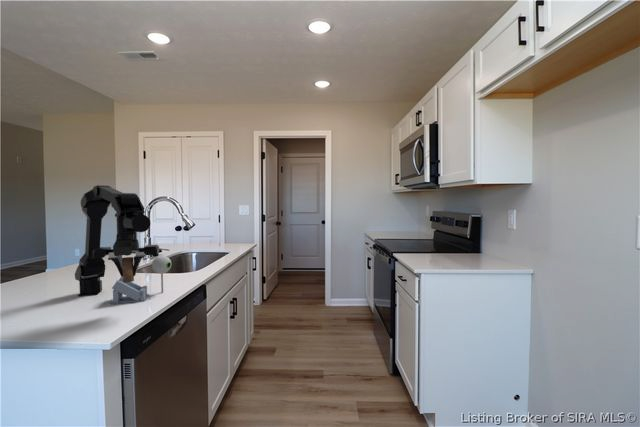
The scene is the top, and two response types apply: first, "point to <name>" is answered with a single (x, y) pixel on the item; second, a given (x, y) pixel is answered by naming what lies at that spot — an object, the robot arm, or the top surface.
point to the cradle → (128, 292)
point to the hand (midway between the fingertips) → (128, 276)
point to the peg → (127, 269)
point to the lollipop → (161, 266)
